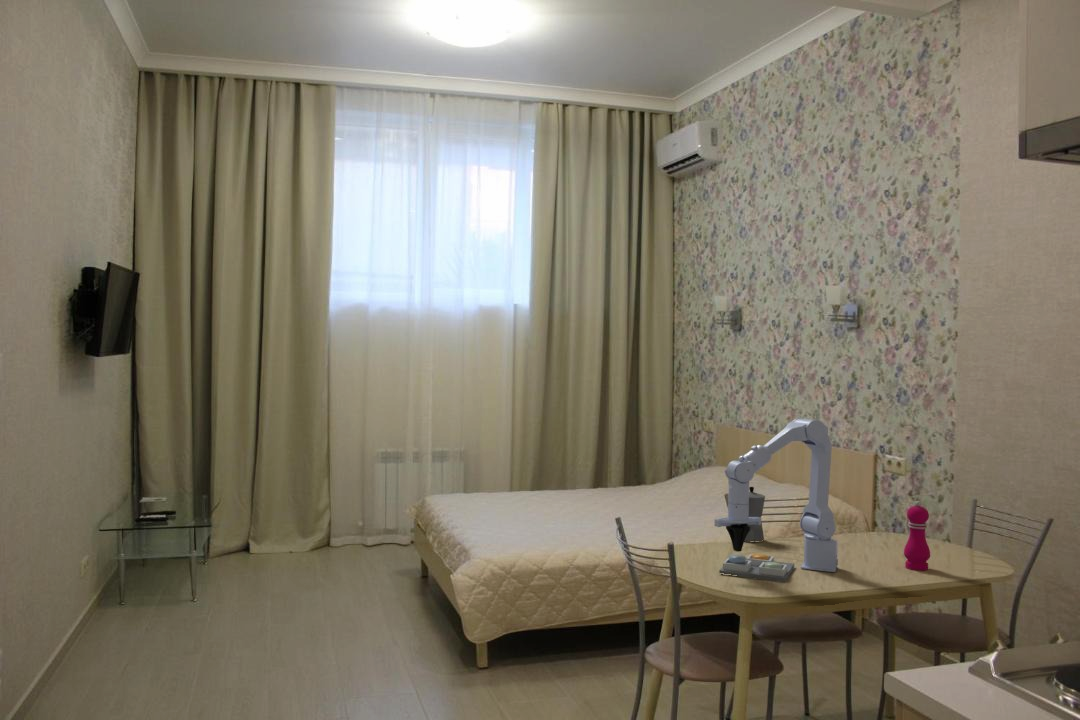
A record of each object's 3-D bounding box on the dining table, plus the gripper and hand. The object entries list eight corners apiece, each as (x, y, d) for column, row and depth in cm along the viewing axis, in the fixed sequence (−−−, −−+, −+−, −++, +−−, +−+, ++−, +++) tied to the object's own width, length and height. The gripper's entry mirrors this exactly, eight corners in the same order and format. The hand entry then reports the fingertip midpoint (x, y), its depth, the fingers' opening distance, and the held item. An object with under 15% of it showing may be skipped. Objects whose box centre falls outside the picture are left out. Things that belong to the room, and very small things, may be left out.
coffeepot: (747, 535, 303) (748, 483, 303) (772, 539, 296) (773, 486, 296) (724, 541, 291) (725, 487, 291) (750, 545, 285) (751, 490, 285)
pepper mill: (935, 569, 257) (936, 502, 257) (919, 572, 253) (920, 503, 253) (914, 564, 263) (915, 498, 263) (898, 566, 260) (899, 499, 260)
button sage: (782, 569, 246) (782, 563, 246) (780, 572, 242) (780, 566, 242) (765, 567, 248) (766, 561, 248) (763, 570, 244) (763, 564, 244)
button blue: (746, 561, 250) (746, 555, 250) (743, 565, 246) (743, 559, 246) (730, 559, 252) (730, 554, 252) (727, 563, 248) (727, 557, 248)
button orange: (769, 560, 256) (769, 555, 256) (767, 564, 252) (767, 558, 252) (753, 559, 258) (753, 553, 258) (750, 562, 254) (751, 556, 254)
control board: (794, 567, 256) (794, 557, 256) (784, 582, 239) (785, 571, 239) (732, 560, 263) (732, 550, 263) (719, 574, 246) (719, 563, 246)
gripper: (751, 499, 255) (750, 546, 255) (709, 501, 250) (707, 549, 250) (766, 503, 248) (765, 551, 249) (722, 506, 243) (721, 554, 243)
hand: (737, 550), depth 249 cm, fingers closed
